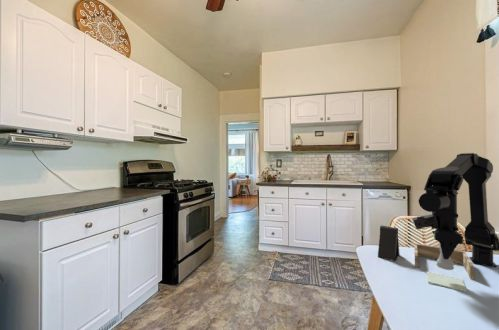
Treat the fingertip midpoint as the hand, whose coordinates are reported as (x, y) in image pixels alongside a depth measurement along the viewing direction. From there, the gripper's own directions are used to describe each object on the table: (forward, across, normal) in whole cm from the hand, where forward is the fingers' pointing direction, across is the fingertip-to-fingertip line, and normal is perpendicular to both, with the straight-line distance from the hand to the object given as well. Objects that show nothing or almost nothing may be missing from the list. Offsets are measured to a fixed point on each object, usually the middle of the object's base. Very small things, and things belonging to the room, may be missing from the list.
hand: (445, 257), depth 73 cm
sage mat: (+8, 0, 0) cm, 8 cm away
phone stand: (+8, -14, -16) cm, 23 cm away
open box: (+8, -15, 0) cm, 17 cm away
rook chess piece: (+3, 0, 0) cm, 3 cm away
